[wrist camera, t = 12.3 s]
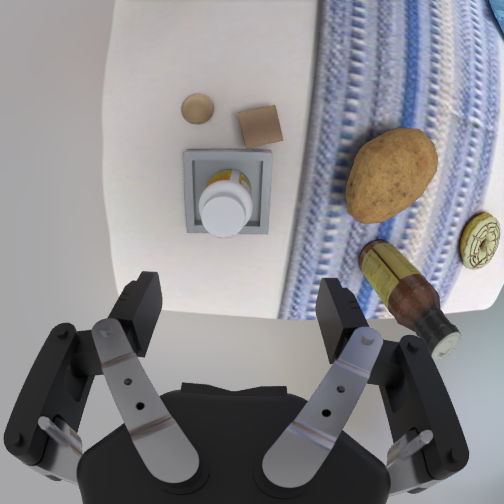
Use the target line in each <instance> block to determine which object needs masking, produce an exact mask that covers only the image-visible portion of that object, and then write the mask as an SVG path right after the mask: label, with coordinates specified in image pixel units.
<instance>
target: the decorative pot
mask: <svg viewBox="0 0 504 504" xmlns="http://www.w3.org/2000/svg"><path fill="white" fill-rule="evenodd" d="M489 3H490V6H491V7H492V9H493V12H494V15H495V17H496V19H497V21H498V23H499V25H500V27H501V29H502V32H503V35H504V0H489Z"/></svg>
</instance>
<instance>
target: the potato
mask: <svg viewBox="0 0 504 504" xmlns="http://www.w3.org/2000/svg"><path fill="white" fill-rule="evenodd" d="M437 163H438V156H437V153H436V149H435V145H434V143H433V142H432V141H431V140H430V139H429V138H428V137H427V135H426V134H425V133H424V132H422V131H421V130H420V129H412V128H397V129H393V130H390V131H387V132H385V133H383V134H381V135H379V136H378V137H376V138H374V139H372V140H371V141H369V142H367V143H366V144H365V145H363V146H362V147H361V149H360V150H359V152H358V153H357V155H356V157H355V159H354V163H353V166H352V169H351V172H350V175H349V178H348V181H347V185H346V191H345V197H346V201H347V209H348V213H349V214H350V215H351V216H352V217H354V218H355V219H356V220H357V221H359V222H360V223H363V224H370V223H381V222H383V221H385V220H387V219H390V218H392V217H394V216H395V215H397V214H398V213H400V212H401V211H403V210H404V209H406V208H407V207H408V206H410V205H411V204H412V203H414V202H415V201H416V200H417V199H418V198H419V197H420V196H421V195H422V194H423V193H424V191H425V189H426V188H427V186H428V184H429V183H430V182H431V180H432V178H433V177H434V175H435V173H436V171H437Z"/></svg>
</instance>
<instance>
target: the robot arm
mask: <svg viewBox="0 0 504 504" xmlns="http://www.w3.org/2000/svg"><path fill="white" fill-rule="evenodd" d="M161 309H162V293H161V287H160V281H159V275H158V273H157V272H148V271H142V272H141V274H140V276H139V278H138V279H137V281H131V282H130V283H129V284H128V285H126V286H125V288H124V289H123V291H122V293H121V295H120V296H119V298H118V300H117V302H116V304H115V305H114V307H113V309H112V311H111V313H110V315H109V316H108V318H106V319H102V320H100V321H98V322H97V323H96V324H95V325H94V326H93V328H92V330H86V331H76V329H75V327H74V325H72V324H70V323H61V324H59V325H57V326H55V327H54V328H53V329H52V331H51V332H50V334H49V336H48V338H47V339H46V341H45V343H44V345H43V347H42V349H41V350H40V352H39V354H38V356H37V358H36V360H35V362H34V364H33V366H32V368H31V370H30V372H29V374H28V376H27V378H26V381H25V383H24V385H23V387H22V389H21V392H20V394H19V396H18V399H17V401H16V403H15V406H14V408H13V411H12V413H11V416H10V419H9V422H8V424H7V427H6V430H5V433H4V444H5V446H6V449H7V450H8V451H9V452H10V453H11V454H12V455H14V456H15V457H16V458H18V459H19V460H21V461H22V462H23V463H24V464H25V465H27V466H28V467H30V468H32V469H33V470H35V471H36V472H38V473H40V474H42V475H44V476H46V477H48V478H50V479H51V480H54V481H61V480H64V481H67V482H70V483H72V484H75V485H78V486H79V489H80V492H81V496H82V501H83V504H386V502H387V499H388V497H389V496H394V495H397V494H400V493H404V492H408V493H412V494H416V493H419V492H421V491H423V490H425V489H427V488H429V487H431V486H433V485H435V484H437V483H439V482H441V481H443V480H445V479H446V478H448V477H450V476H452V475H453V474H455V473H457V472H458V471H460V470H461V469H463V468H464V467H465V466H466V464H467V462H468V459H469V450H468V446H467V443H466V440H465V437H464V434H463V431H462V428H461V426H460V423H459V420H458V417H457V415H456V412H455V409H454V407H453V404H452V402H451V399H450V397H449V394H448V392H447V390H446V387H445V385H444V383H443V380H442V378H441V376H440V374H439V372H438V369H437V367H436V365H435V363H434V361H433V358H432V356H431V354H430V352H429V350H428V348H427V346H426V344H425V343H424V341H423V340H422V339H420V338H419V337H417V336H414V335H406V336H403V337H402V338H401V340H400V342H393V341H387V340H384V339H383V338H382V336H381V334H380V333H379V332H378V331H377V330H375V329H373V328H370V327H369V325H368V323H367V321H366V319H365V317H364V314H363V312H362V310H361V308H360V306H359V304H358V303H357V300H356V298H355V296H354V294H353V293H352V292H351V291H350V290H349V289H348V288H342V286H341V284H340V282H339V280H338V278H322V280H321V283H320V288H319V292H318V297H317V301H316V316H317V319H318V322H319V326H320V329H321V333H322V337H323V340H324V344H325V347H326V351H327V355H328V359H329V363H330V364H333V365H332V366H331V368H330V369H329V371H328V373H327V374H326V376H325V377H324V379H323V380H322V382H321V383H320V385H319V386H318V388H317V389H316V391H315V392H314V394H313V395H312V396H311V398H310V399H309V401H307V400H305V399H303V398H301V397H299V396H296V395H293V394H288V393H287V387H286V386H268V387H267V386H264V387H263V386H262V387H256V388H252V389H246V390H241V391H229V390H225V389H221V388H218V387H214V386H211V385H206V384H193V383H182V386H181V390H175V391H171V392H168V393H165V394H163V395H161V396H159V395H158V394H157V392H156V390H155V388H154V387H153V385H152V383H151V381H150V380H149V378H148V376H147V374H146V373H145V371H144V369H143V367H142V365H141V363H140V361H139V359H138V357H145V355H146V352H147V349H148V346H149V343H150V340H151V337H152V334H153V331H154V328H155V326H156V323H157V320H158V317H159V314H160V312H161ZM95 375H104V376H105V379H106V381H107V384H108V386H109V389H110V391H111V394H112V396H113V399H114V401H115V403H116V405H117V408H118V410H119V412H120V414H121V416H122V419H123V421H124V424H122V425H121V426H119V427H118V428H117V429H115V430H114V431H113V432H111V433H110V434H109V435H107V436H106V437H104V438H103V439H102V440H100V441H99V442H98V443H96V444H95V445H94V446H92V447H91V448H89V449H88V450H87V451H86V452H84V454H82V440H81V438H80V437H79V435H78V434H77V432H78V428H79V425H80V421H81V417H82V414H83V411H84V407H85V404H86V401H87V397H88V395H89V392H90V388H91V385H92V383H93V380H94V377H95ZM366 383H368V384H374V385H379V388H380V392H381V395H382V399H383V402H384V406H385V410H386V414H387V418H388V421H389V426H390V430H391V434H392V438H393V443H394V444H393V445H392V446H391V448H390V449H389V451H388V454H387V465H386V466H385V465H384V464H383V463H382V462H381V461H380V460H379V459H378V458H377V457H375V456H374V455H373V454H371V453H370V452H369V451H368V450H366V449H365V448H364V447H362V446H361V445H360V444H359V443H358V442H356V441H355V440H354V439H353V438H351V437H350V436H349V435H348V434H347V433H345V432H344V431H343V430H342V429H343V428H344V426H345V424H346V422H347V421H348V419H349V417H350V415H351V413H352V411H353V409H354V407H355V405H356V404H357V401H358V400H359V398H360V396H361V394H362V392H363V390H364V387H365V385H366Z"/></svg>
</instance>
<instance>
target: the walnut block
mask: <svg viewBox="0 0 504 504" xmlns="http://www.w3.org/2000/svg"><path fill="white" fill-rule="evenodd" d="M238 117H239V121H240V125H241V129H242V133H243V137H244V141H245V145H246V148H250V147H254V146H259V145H264V144H268V143H273V142H278V141H283V137H282V132H281V128H280V123H279V119H278V115H277V110H276V106H275V105H272V106H267V107H262V108H257V109H252V110H248V111H243V112H239V113H238Z"/></svg>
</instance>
